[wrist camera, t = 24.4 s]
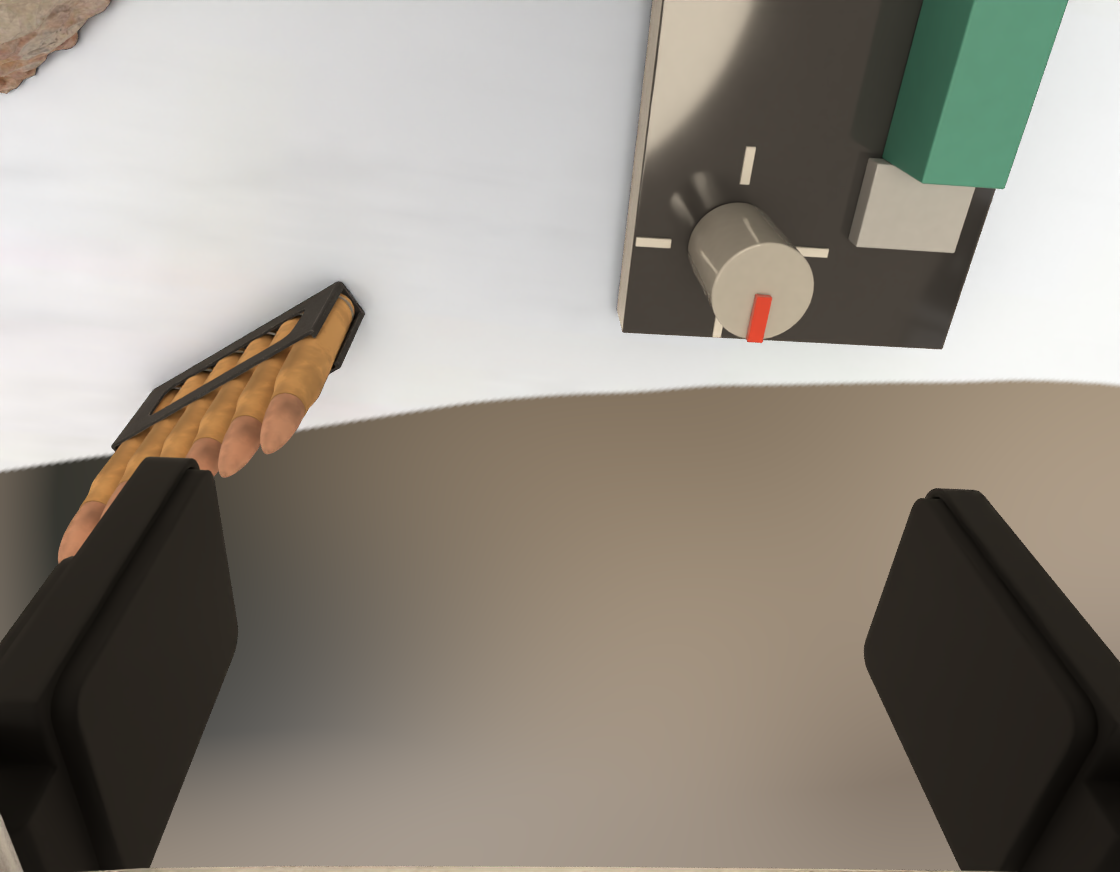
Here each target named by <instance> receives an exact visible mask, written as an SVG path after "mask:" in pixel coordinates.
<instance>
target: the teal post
mask: <svg viewBox="0 0 1120 872" xmlns="http://www.w3.org/2000/svg"><path fill="white" fill-rule="evenodd" d="M1067 3H1068V0H923V4H922V7H921V11H920V15H919V19H918V23H917V26H916V30H915V34H914V38H913V42H912V46H911V49H910V53H909V57H908V61H907V65H906V68H905V72H904V76H903V80H902V84H901V87H900V91H899V95H898V99H897V103H896V107H895V110H894V114H893V118H892V122H891V126H890V129H889V133H888V137H887V141H886V145H885V149H884V152H883V156H882V158H883V159H879V158H869V159H868V163H867V167H866V171H865V175H864V179H863V183H862V187H861V191H860V195H859V199H858V202H857V206H856V210H855V214H854V218H853V222H852V226H851V230H850V234H849V238H848V239H849V240H850V241H851V242H852V243H853V244H854V245H855V246H856V247H866V248H882V249H898V250H914V251H930V252H946V253H954V252H955V249H956V246H957V243H958V240H959V237H960V233H961V230H962V227H963V224H964V221H965V218H966V215H967V212H968V209H969V205H970V202H971V199H972V196H973V193H974V190H975V187H980V188H994V189H1004V188H1005V185H1006V182H1007V179H1008V176H1009V173H1010V171H1011V168H1012V165H1013V162H1014V159H1015V156H1016V153H1017V150H1018V147H1019V144H1020V141H1021V138H1022V135H1023V132H1024V129H1025V126H1026V123H1027V120H1028V118H1029V115H1030V112H1031V109H1032V106H1033V103H1034V100H1035V97H1036V94H1037V91H1038V88H1039V85H1040V82H1041V79H1042V76H1043V73H1044V70H1045V67H1046V65H1047V62H1048V59H1049V56H1050V53H1051V50H1052V47H1053V44H1054V41H1055V38H1056V35H1057V32H1058V29H1059V26H1060V23H1061V20H1062V17H1063V14H1064V12H1065V9H1066V6H1067Z"/></svg>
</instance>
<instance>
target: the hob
mask: <svg viewBox="0 0 1120 872" xmlns="http://www.w3.org/2000/svg"><path fill="white" fill-rule="evenodd" d="M922 4H923V0H652V9H651V17H650V26H649V34H648V43H647V52H646V60H645V69H644V78H643V86H642V95H641V104H640V112H639V121H638V129H637V138H636V147H635V155H634V164H633V173H632V181H631V190H630V199H629V207H628V216H627V224H626V233H625V242H624V250H623V259H622V268H621V276H620V285H619V294H618V302H617V313H618V317H619V321H620V324H621V328H622V332H624V333H642V334H661V335H680V336H699V337H718V338H737V339H746V338H742V337H739V336H736V335H734V334H732V333H731V332H729V331H728V330H726V329H725V328H724V327H723V326H722V325H721V324H720V322H719V321H718V320H717V318H716V316H715V314H714V312H713V310H712V308H711V306H710V304H709V302H708V300H707V298H706V296H705V294H704V292H703V290H702V288H701V286H700V284H699V282H698V280H697V278H696V276H695V274H694V272H693V270H692V268H691V266H690V263H689V258H688V244H689V240H690V237H691V234H692V232H693V230H694V228H695V227H696V225H697V224H698V222H699V221H700V220H701V219H702V218H703V217H704V216H705V215H706V214H707V213H709V212H710V211H712V210H713V209H715V208H717V207H719V206H722V205H725V204H729V203H747V204H751V205H754V206H756V207H758V208H760V209H761V210H763V211H764V212H765V213H766V214H767V215H768V216H769V217H770V218H771V219H772V220H773V222H774V223H775V224H776V225H777V226H778V227H779V228H780V230H781V231H782V232H783V233H784V234H785V235H786V237H787V238H788V239H789V240H790V241H791V242H792V244H793V245H794V246H795V247H796V248H797V249H798V251H799V252H800V253H801V254H802V255H803V256H804V258H805V259H806V260H807V262H808V263H809V265H810V267H811V270H812V273H813V278H814V290H813V296H812V299H811V302H810V304H809V306H808V309H807V310H806V312H805V313H804V315H803V316H802V317H801V319H800V320H799V321H798V322H797V323H796V324H795V325H793V326H792V327H791V328H790V329H788V330H786V331H785V332H783V333H781V334H779V335H776V336H774V337H770V338H766V339H763V340H775V341H793V342H812V343H831V344H850V345H869V346H888V347H907V348H926V349H942V348H943V345H944V342H945V339H946V336H947V333H948V330H949V327H950V324H951V321H952V318H953V315H954V312H955V309H956V306H957V303H958V300H959V297H960V294H961V291H962V288H963V285H964V282H965V279H966V276H967V273H968V270H969V267H970V264H971V261H972V258H973V255H974V252H975V249H976V246H977V243H978V240H979V237H980V234H981V231H982V228H983V225H984V222H985V219H986V216H987V213H988V210H989V207H990V204H991V201H992V198H993V195H994V192H995V189H994V188H980V187H975V190H974V193H973V196H972V199H971V202H970V205H969V209H968V212H967V215H966V218H965V221H964V224H963V227H962V230H961V233H960V237H959V240H958V243H957V246H956V249H955V252H954V253H946V252H930V251H914V250H898V249H882V248H866V247H856V246H855V245H854V244H853V243H852V242H851V241H850V240H849V239H848V238H849V234H850V230H851V226H852V222H853V218H854V214H855V210H856V206H857V202H858V199H859V195H860V191H861V187H862V183H863V179H864V175H865V171H866V167H867V163H868V159H869V158H879V159H883V158H882V156H883V152H884V149H885V145H886V141H887V137H888V133H889V129H890V126H891V122H892V118H893V114H894V110H895V107H896V103H897V99H898V95H899V91H900V87H901V84H902V80H903V76H904V72H905V68H906V65H907V61H908V57H909V53H910V49H911V46H912V42H913V38H914V34H915V30H916V26H917V23H918V19H919V15H920V11H921V7H922Z"/></svg>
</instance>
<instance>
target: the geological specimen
mask: <svg viewBox="0 0 1120 872" xmlns="http://www.w3.org/2000/svg"><path fill="white" fill-rule="evenodd" d="M110 1H111V0H0V92H1V93H5V94H7V93H8V92H9V91H10V90H13V89H16V88H17V87H18V86H19V85H20V83H21V82H22V81H23V80H24V79H26V78H29V77H31V76H34V75H35V72H36V68H37V67H39V66H40V65H41V64H42V63H43V62H44V61H45V60H46V58H47V55H48V54H49V53H51V52H53V51H56V50H61V49H69V48H72V47H73V46H74V45H76V42H77V40H78V33H77V31H78V30H79V29H80V28H81V27H82V26H83V25H84V24H85V22H86V20H87V19H88V18H90V17H92V16H94V15H97V14H99V13H101V12H103V11H104V10H105V9H106V8H107V6H108V5H109V4H110Z"/></svg>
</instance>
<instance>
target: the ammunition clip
mask: <svg viewBox="0 0 1120 872" xmlns="http://www.w3.org/2000/svg"><path fill="white" fill-rule="evenodd" d="M364 315H365V313H364V312H363V311H362V309H361V308H360V306H359V305H358V304H357V302H356V301H355V300H354V298H353V297H352V296H351V294H350V293H349V292H348V290H347V289H346V288H345V286H344V285H343V284H342V282H336V283H334V284H333V285H331V286H329V287H327V288H326V289H324V290H322V291H321V292H319V293H317V294H316V295H314V296H312V297H310V298H309V299H307V300H305V301H304V302H302V303H300V304H299V305H297V306H295V307H293V308H292V309H290V310H288V311H287V312H285V313H283V314H282V315H280V316H278V317H276V318H275V319H273V320H271V321H270V322H268V323H266V324H265V325H263V326H261V327H259V328H258V329H256V330H254V331H253V332H251V333H249V334H248V335H246V336H244V337H242V338H241V339H239V340H237V341H236V342H234V343H232V344H231V345H229V346H227V347H226V348H224V349H222V350H220V351H219V352H217V353H215V354H214V355H212V356H210V357H209V358H207V359H205V360H203V361H202V362H200V363H198V364H197V365H195V366H193V367H192V368H190V369H188V370H186V371H185V372H183V373H181V374H180V375H178V376H176V377H175V378H173V379H171V380H169V381H168V382H166V383H164V384H163V385H161V386H159V387H158V388H156V389H154V390H153V391H152V392H151V394H150V395H149V396H148V398H147V399H146V400H145V402H144V403H143V404H142V406H141V407H140V408H139V410H138V411H137V412H136V414H135V415H134V416H133V418H132V419H131V420H130V422H129V423H128V424H127V426H126V427H125V428H124V430H123V431H122V432H121V434H120V435H119V436H118V438H117V439H116V440H115V442H114V443H113V444H112V446H111V447H112V449H113V450H114V451H115V453H114V454H113V456H112V457H111V458H110V460H109V461H108V462H107V464H106V465H105V466H104V468H103V469H102V470H101V471H100V473H99V474H98V475H97V477H96V478H95V480H94V481H93V483H92V485H91V488H90V491H89V494H88V496H87V497H86V499H85V500H84V502H83V504H82V505H81V507H80V509H79V511H78V512H77V513H76V515H75V517H74V518H73V519H72V521H71V523H70V524H69V526H68V528H67V530H66V532H65V534H64V536H63V539H62V541H61V545H60V548H59V554H58V562H59V563H60V562H61V561H62V560H63V559H65V558H68V557H70V556H75V554H76V553H77V552H78V550H79V549H80V547H81V546H82V545H83V543H84V542H85V540H86V539H87V537H88V536H89V535H90V533H91V532H92V530H93V529H94V528H95V526H96V525H97V523H98V522H99V521H100V519H101V518H102V516H103V515H104V514H105V512H106V511H107V509H108V508H109V507H110V505H111V504H112V502H113V501H114V500H115V498H116V497H117V495H118V494H119V492H120V491H121V490H122V488H123V487H124V485H125V484H126V483H127V481H128V480H129V478H130V477H131V476H132V474H133V473H134V471H135V470H136V469H137V467H138V466H139V464H140V463H141V462H142V461H143V460H144V459H145V458H146V457H174V458H193V459H195V460H196V461H197V463H198V465H199V467H200V470H209V471H211V472H212V474H213V476H215V474H216V473H217V472H218V471H219V472H220V475H221V476H222V477H229V476H231V475H233V474H235V473H236V472H238V471H239V470H240V469H241V468H243V467H244V466H245V464H247V463H248V461H249V460H250V459H251V458H252V456H253V455H254V454H255V452H256V451H257V450H258V448H259V446H260V444H261V448H262V450H263V452H264V453H265V454H270V453H273V452H275V451H277V450H278V449H280V448H281V447H282V446H283V445H285V444H286V442H287V441H288V440H289V439H290V438H291V437H292V435H293V434H294V432H295V431H296V430H297V428H298V427H299V425H300V423H301V421H302V419H303V417H304V416H305V414H306V413H307V411H308V409H309V407H311V406H312V405H313V403H314V402H315V401H316V400H317V398H318V397H319V395H320V393H321V391H322V388H323V386H324V384H325V382H326V379H327V377H328V375H329V374H330V373H332V372H334V371H335V370H337V369H339V368H340V367H341V365H342V363H343V361H344V359H345V357H346V354H347V352H348V350H349V348H350V345H351V343H352V341H353V339H354V337H355V334H356V332H357V330H358V328H359V326H360V323H361V321H362V319H363V317H364Z"/></svg>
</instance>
